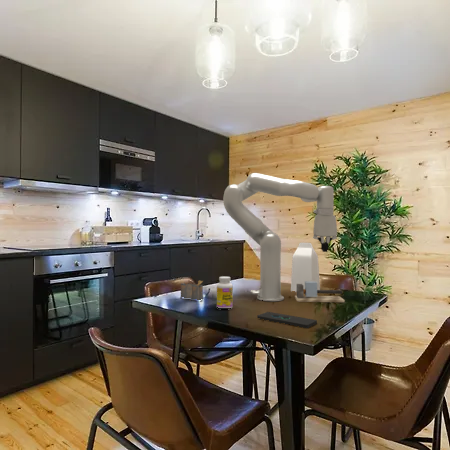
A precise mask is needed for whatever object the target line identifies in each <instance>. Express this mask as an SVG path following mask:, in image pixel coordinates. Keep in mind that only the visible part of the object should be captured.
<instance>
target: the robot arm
mask: <svg viewBox="0 0 450 450" xmlns="http://www.w3.org/2000/svg"><path fill="white" fill-rule="evenodd" d="M223 193H224V194H223V199H222V202H223V206H224V209H225V211H226V213H227V215H229V217H230V218H231V219H232V220H234V221H235V222H236V224H237V225H238V226H239V227H241V229H242V230H243V231H244V232H245V234H247V235H248V236H249V237H250V238H251V239H252V240H253V241H254V242H255V243H256V244H258V245H259V249H260V250H259V251H260V254H259V255H260V261H259V263H260V264H259V265H260V267H259V268H260V273H259V275H260V277H259V278H260V279H259V281H260V288H259V289H256V290H255V289H251V290H250V295H257V296H256V299H257V300H260V301H262V300H263V301H264V302H281V301H284V300H285V297H284V296H283V295H282V294H281V293H282V291H281V290H282V289H281V276H282V275H281V273H282V271H281V268H282V267H281V265H282V264H281V263H282V261H281V257H282V256H281V254H282V253H281V252H282V241H281V238H280V235H278V234H277V233H275V232H273V230H272V229H270V227H268V226H267V225H266V224H265V223H264V222H263V221H262V220H261V218H259V217H257V216H256V215H255V214H254V213H253V212H251V211H250V209H248V207H246V206H245V204H244V203H243V201H245V200H247V199H248V198H251V197H252V196H254V195H256V194H257V193H264V194H267V195H268V194H269V195H273V196H277V197H295V198H298V199H301V201H302V202H305V203H314V202H316V209H313V214H316V215H314V222H313V236H312V239H314V240H318V241H319V242H320V244H321V246H320V247H321V248H320V250H321V251H322V252H323V253H327V252H328V251H329V243H331V241H333V240H336V239H337V238H338V237H337V235H338V226H337V225H338V224H337V219H336V218H337V217H336V215H334V198H335V197H334V194H335V191H334V187H333V186H330V185H321V186H316V185H315V184H313V183H309V182H307V181H306V182H305V181H301V180H295V179H288V178H281V177H278V176H277V177H276V176H274V175H268V174H265V173H264V174H263V173H259V172H252V173H250V174H249V175H248V176H247V177H246V179H245V180H244V181H242V182H240V183H238V184H236V183H232V184H229V185H228V186H227V187H226V188H225V190H224V192H223ZM324 237H325V239H324ZM263 301H262V302H263Z"/></svg>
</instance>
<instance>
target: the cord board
mask: <svg viewBox="0 0 450 450" xmlns="http://www.w3.org/2000/svg"><path fill="white" fill-rule="evenodd" d="M305 293H306V290H305V289H303V285H302V284H297V292H296V295H294V298H295V300H296V302H300V303H301V302H303V303H304V302H305V303H307V302H308V303H309V302H311V303H317V302H318V303H346V302H345V299H344V298H342V297H341V296H339V295H343V289H342V290H341V289H337V290H336V289H335V290H334V289H329V290H328V289H320V290H317V294H323V295H317V297H306V296H305ZM325 294H328V295H325ZM329 294H330V295H329ZM331 294H332V295H331ZM334 294H335V295H334ZM333 295H334V296H333ZM336 295H337V296H336Z"/></svg>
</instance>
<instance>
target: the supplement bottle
mask: <svg viewBox="0 0 450 450" xmlns="http://www.w3.org/2000/svg"><path fill="white" fill-rule="evenodd" d="M218 281H219V283H217V284H216V308H217V307H218V308H231V309H233V303H234V302H233V300H234V298H233V296H234V295H233V294H234V293H233V289H234V286H233V284H232V283H231V277H230V276H219V278H218ZM218 308H217V309H218Z"/></svg>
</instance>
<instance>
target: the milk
mask: <svg viewBox="0 0 450 450" xmlns="http://www.w3.org/2000/svg"><path fill="white" fill-rule="evenodd" d="M291 261H292V263H291V277H290V278H291V279H290V292H292V291H295V293H297V284H302V285H303V289H305V281H316V282H317V290H321V286H320V284H321V283H320V266H319V255H318V253H317V252H316V250H315V248H314V247H313V244H312V243H311V242H299V244H298V246H297V247H296V250H295V251H294V253H293V255H292V260H291Z"/></svg>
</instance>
